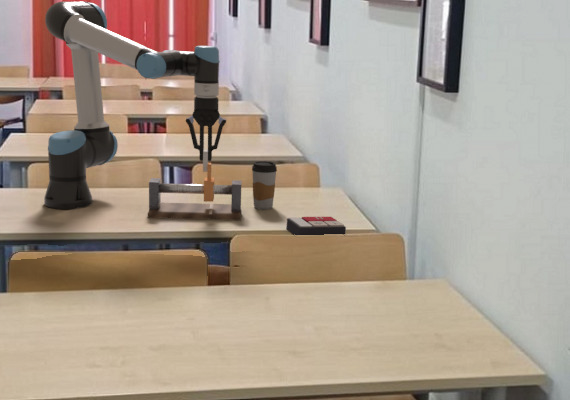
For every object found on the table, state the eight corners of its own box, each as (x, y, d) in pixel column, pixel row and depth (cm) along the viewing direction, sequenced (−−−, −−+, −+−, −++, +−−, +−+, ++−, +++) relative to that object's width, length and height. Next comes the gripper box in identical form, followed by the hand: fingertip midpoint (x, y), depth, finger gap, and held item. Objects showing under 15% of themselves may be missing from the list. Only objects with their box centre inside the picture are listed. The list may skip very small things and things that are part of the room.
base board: (147, 217, 256) (147, 212, 255) (152, 206, 269) (152, 202, 269) (240, 220, 257) (240, 215, 257) (240, 208, 271) (240, 204, 270)
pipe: (149, 209, 259) (149, 182, 257) (151, 205, 265) (151, 178, 263) (240, 212, 261) (241, 184, 259) (240, 207, 266) (241, 180, 264)
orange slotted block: (203, 201, 259) (204, 166, 256) (204, 196, 265) (205, 162, 263) (213, 201, 259) (213, 166, 256) (213, 196, 265) (214, 162, 263)
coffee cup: (279, 206, 276) (281, 162, 272) (268, 211, 269) (270, 166, 265) (257, 203, 279) (259, 160, 276) (246, 208, 272) (247, 163, 268)
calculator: (346, 224, 244) (300, 225, 239) (345, 238, 245) (298, 239, 240) (331, 215, 254) (286, 215, 249) (330, 228, 255) (285, 229, 250)
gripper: (184, 97, 250) (184, 172, 256) (227, 98, 251) (225, 173, 257) (186, 94, 258) (185, 167, 263) (227, 95, 258) (226, 169, 264)
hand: (205, 170), depth 260 cm, fingers closed
